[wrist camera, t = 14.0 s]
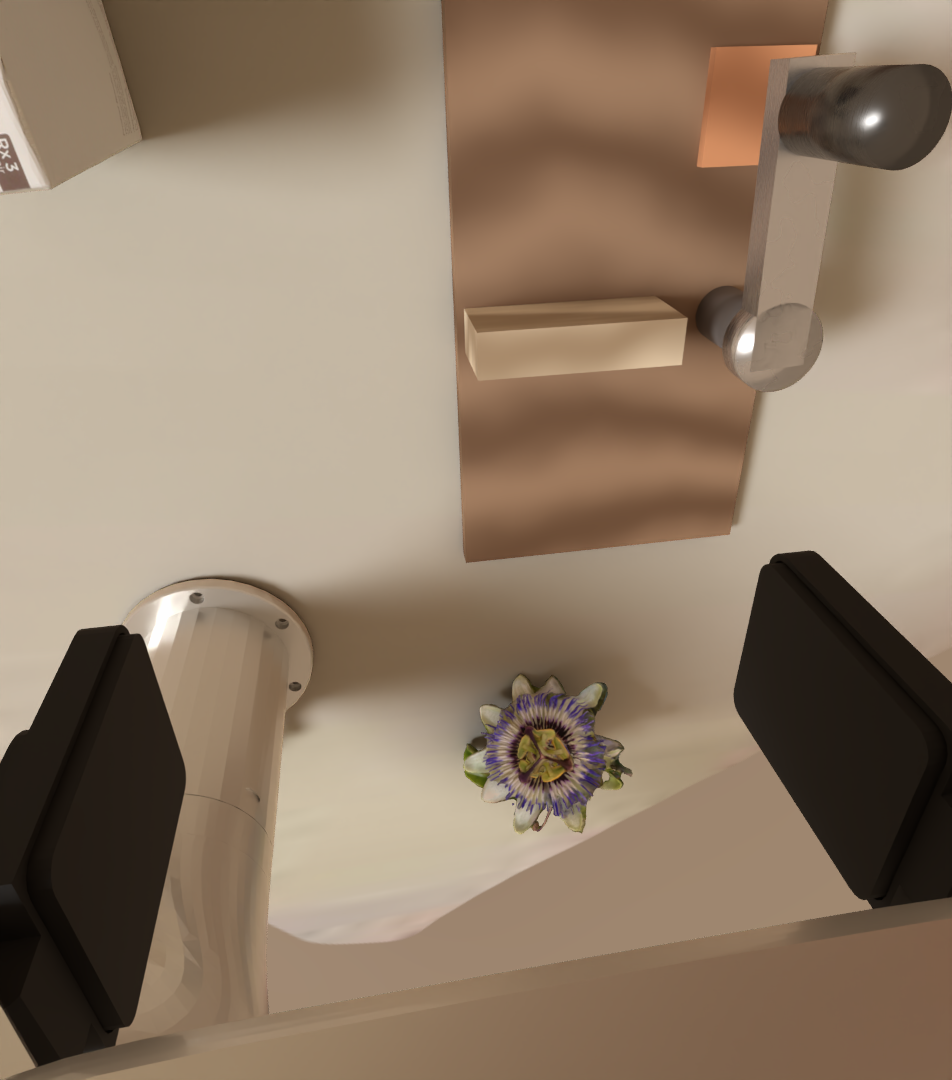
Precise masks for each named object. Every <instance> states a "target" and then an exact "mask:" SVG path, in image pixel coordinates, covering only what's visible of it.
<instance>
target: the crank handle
mask: <svg viewBox="0 0 952 1080" xmlns="http://www.w3.org/2000/svg"><path fill="white" fill-rule="evenodd" d="M855 56H856V53H838V54H825V55H815V56H804V57H793V58H782V59H771V60H770V69H769V78H768V86H767V95H766V103H765V112H764V120H763V129H762V138H761V146H760V155H759V163H758V172H757V180H756V189H755V198H754V206H753V215H752V223H751V232H750V240H749V249H748V258H747V266H746V275H745V283H744V292H743V301H742V309H741V310H740V311H739V312H738V313H737V314H736V315H735V316H734V318H733V319H732V320H731V322H730V324H729V325H728V327H727V330H726V332H725V335H724V338H723V344H722V353H723V359H724V362H725V364H726V366H727V368H728V369H729V371H730V372H731V373H732V374H734V375H735V376H736V377H737V378H739V379H740V380H741V381H743V382H744V383H745V384H747V385H748V386H750V387H751V388H753V389H755V390H758V391H763V392H774V391H779V390H782V389H785V388H787V387H789V386H791V385H793V384H794V383H796V382H797V381H799V380H800V379H801V378H802V377H803V376H805V374H806V373H807V372H808V371H809V370H810V369H811V367H812V366H813V365H814V363H815V361H816V360H817V357H818V355H819V353H820V350H821V346H822V341H823V330H822V325H821V322H820V320H819V318H818V316H817V315H816V313H815V312H814V311H813V306H814V300H815V294H816V288H817V282H818V276H819V270H820V264H821V258H822V252H823V246H824V240H825V234H826V228H827V222H828V216H829V211H830V205H831V199H832V193H833V187H834V181H835V175H836V169H837V163H838V162H842V163H849V164H855V165H861V166H867V167H873V168H880V169H886V170H901V169H905V168H908V167H910V166H912V165H914V164H916V163H918V162H919V161H921V160H922V159H923V158H924V157H926V156H927V155H928V154H929V153H930V152H931V151H932V150H933V148H934V147H935V146H936V145H937V143H938V142H939V140H940V139H941V137H942V135H943V134H944V132H945V130H946V127H947V125H948V122H949V119H950V115H951V110H952V91H951V86H950V83H949V81H948V79H947V77H946V76H945V75H944V73H943V72H942V71H941V70H939V69H938V68H936V67H934V66H931V65H926V64H915V65H882V66H854V62H855Z"/></svg>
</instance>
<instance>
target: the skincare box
mask: <svg viewBox="0 0 952 1080" xmlns="http://www.w3.org/2000/svg"><path fill="white" fill-rule="evenodd" d="M141 140H142V136H141V131H140V127H139V123H138V120H137V116H136V113H135V110H134V107H133V103H132V100H131V97H130V93H129V90H128V87H127V83H126V80H125V76H124V73H123V69H122V66H121V63H120V59H119V56H118V53H117V50H116V46H115V43H114V40H113V37H112V33H111V30H110V27H109V23H108V20H107V17H106V14H105V10H104V7H103V4H102V1H101V0H0V195H4V194H13V193H22V192H31V191H42V190H49V189H53V188H54V187H56V186H58V185H60V184H61V183H63V182H65V181H67V180H69V179H70V178H72V177H74V176H76V175H78V174H80V173H82V172H83V171H85V170H87V169H89V168H91V167H93V166H95V165H97V164H99V163H101V162H102V161H104V160H106V159H108V158H110V157H111V156H113V155H115V154H117V153H119V152H121V151H122V150H124V149H126V148H128V147H130V146H132V145H134V144H136V143H138V142H139V141H141Z"/></svg>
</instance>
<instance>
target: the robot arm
mask: <svg viewBox="0 0 952 1080" xmlns="http://www.w3.org/2000/svg"><path fill="white" fill-rule="evenodd" d="M312 668H313V648H312V643H311V638H310V636H309V633H308V631H307V629H306V627H305V625H304V623H303V622H302V621H301V619H300V618H299V617H298V615H297V614H296V613H295V612H294V611H293V610H292V609H291V608H290V607H289V606H287V605H286V604H285V603H284V602H283V601H281V600H280V599H278V598H276V597H275V596H273V595H272V594H270V593H268V592H266V591H264V590H261V589H259V588H256V587H254V586H251V585H248V584H244V583H240V582H235V581H231V580H219V579H202V580H190V581H186V582H181V583H177V584H173V585H170V586H168V587H165V588H163V589H160V590H158V591H156V592H154V593H152V594H151V595H149V596H148V597H146V598H145V599H143V600H142V601H140V602H139V603H138V604H137V605H136V606H135V607H134V608H133V609H132V610H131V611H130V612H129V614H128V615H127V617H126V619H125V620H124V622H123V624H122V625H116V626H106V627H97V628H88V629H81V630H79V631H78V632H77V633H76V635H75V636H74V638H73V640H72V642H71V644H70V646H69V648H68V651H67V653H66V655H65V657H64V659H63V661H62V663H61V665H60V667H59V669H58V671H57V673H56V675H55V677H54V680H53V682H52V684H51V686H50V688H49V690H48V692H47V694H46V696H45V698H44V700H43V702H42V704H41V706H40V709H39V711H38V713H37V715H36V717H35V719H34V721H33V723H32V725H31V727H30V729H29V730H25V731H22V732H20V733H19V734H17V735H16V736H15V737H14V739H13V740H12V742H11V743H10V745H9V747H8V749H7V751H6V753H5V755H4V757H3V759H2V761H1V763H0V1080H952V683H951V682H950V681H949V680H948V679H947V678H946V677H945V676H944V675H943V674H942V673H941V672H940V671H939V670H938V669H936V668H935V667H934V666H933V665H932V664H931V663H930V662H929V661H928V660H927V659H926V658H925V657H924V656H923V655H922V654H921V653H920V652H919V651H918V650H917V649H916V648H915V647H914V646H913V645H912V644H911V643H910V642H909V641H908V640H907V639H906V638H905V637H904V636H902V635H901V634H900V633H899V632H898V631H897V630H896V629H895V628H894V627H893V626H892V625H891V624H890V623H889V622H888V621H887V620H886V619H885V618H884V617H883V616H882V615H881V614H880V613H879V612H878V611H877V610H876V609H875V608H874V607H873V606H872V605H871V604H869V603H868V602H867V601H866V600H865V599H864V598H863V597H862V596H861V595H860V594H859V593H858V592H857V591H856V590H855V589H854V588H853V587H852V586H851V585H850V584H849V583H848V582H847V581H846V580H845V579H844V578H843V577H842V576H841V575H840V574H839V573H838V572H836V571H835V570H834V569H833V568H832V567H831V566H830V565H829V564H828V563H827V562H826V561H825V560H824V559H823V558H822V557H821V556H820V555H819V554H817V553H816V552H814V551H801V552H792V553H783V554H777V555H775V556H773V557H772V559H771V560H770V563H769V564H766V565H764V566H763V567H762V568H761V571H760V574H759V579H758V583H757V588H756V592H755V597H754V601H753V606H752V610H751V615H750V620H749V624H748V629H747V633H746V638H745V642H744V647H743V651H742V656H741V660H740V665H739V670H738V674H737V679H736V683H735V688H734V703H735V707H736V710H737V712H738V714H739V716H740V717H741V719H742V720H743V722H744V723H745V725H746V727H747V728H748V730H749V731H750V733H751V734H752V736H753V738H754V739H755V741H756V742H757V744H758V745H759V747H760V748H761V750H762V752H763V753H764V755H765V756H766V758H767V759H768V761H769V762H770V764H771V766H772V767H773V769H774V770H775V772H776V773H777V775H778V777H779V778H780V780H781V781H782V783H783V784H784V786H785V787H786V789H787V791H788V792H789V794H790V795H791V797H792V798H793V800H794V802H795V803H796V805H797V806H798V808H799V809H800V811H801V813H802V814H803V816H804V817H805V819H806V820H807V822H808V823H809V825H810V827H811V828H812V830H813V831H814V833H815V834H816V836H817V838H818V839H819V841H820V842H821V844H822V845H823V847H824V849H825V850H826V852H827V853H828V855H829V856H830V858H831V859H832V861H833V862H834V864H835V865H836V867H837V869H838V870H839V872H840V874H841V875H842V877H843V878H844V880H845V881H846V883H847V884H848V886H849V888H850V889H851V890H852V892H853V893H854V894H855V895H856V896H857V897H858V898H860V899H863V900H868V902H869V904H870V905H871V906H872V908H873V909H870V910H864V911H859V912H852V913H846V914H840V915H834V916H829V917H823V918H817V919H810V920H805V921H799V922H793V923H787V924H782V925H775V926H769V927H763V928H757V929H751V930H745V931H739V932H733V933H727V934H722V935H715V936H710V937H704V938H698V939H692V940H687V941H680V942H675V943H669V944H664V945H657V946H652V947H646V948H640V949H634V950H629V951H623V952H617V953H611V954H605V955H600V956H594V957H588V958H583V959H577V960H571V961H565V962H560V963H554V964H548V965H542V966H537V967H531V968H525V969H520V970H514V971H508V972H502V973H497V974H491V975H485V976H479V977H474V978H469V979H463V980H458V981H451V982H446V983H440V984H435V985H429V986H424V987H418V988H412V989H407V990H401V991H396V992H390V993H385V994H379V995H374V996H368V997H363V998H357V999H351V1000H346V1001H341V1002H335V1003H329V1004H323V1005H318V1006H312V1007H307V1008H301V1009H296V1010H290V1011H285V1012H279V1013H273V1014H269V1005H268V990H267V962H266V955H267V954H266V953H267V921H268V905H269V891H270V879H271V867H272V857H273V846H274V835H275V824H276V812H277V801H278V790H279V778H280V767H281V756H282V744H283V733H284V722H285V712H286V711H287V710H288V709H289V708H290V707H292V706H293V705H294V704H295V703H296V702H297V701H298V699H299V698H300V697H301V695H302V694H303V693H304V692H305V689H306V687H307V685H308V683H309V681H310V678H311V673H312Z"/></svg>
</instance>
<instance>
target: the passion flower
mask: <svg viewBox="0 0 952 1080" xmlns="http://www.w3.org/2000/svg"><path fill="white" fill-rule="evenodd" d="M607 694H608V693H607V686H606V684H605V683H598V682H597V683H594V684H591V685H590V686H588V687H586V689H584V690H583V691H581V692H580V694H579V695H578V696H567V695H566V693H565V691H564V689H563V687H562V685H561V683H560V682H559V680H558V679H557V678H556V677H555V676H553V675H551V677H550V678H549V679H548V680H547V681H546V683H545V685H544V686H542V687H541V688H538V687H535V686H533V685H532V684H531V682H530V681H529V679H528V678H526V677H525V676H524V675H522V674H520V675H518V677H517V678H516V679H515V680H514V682H513V685H512V699H513V701H512V703H510V706H508V707H507V708H506V709H502V708H499V707H498V706H496V705H493V704H489V705H488V704H485V705H482V706H481V707H480V717H481V721H482V723H483V725H484V726H485V728H486V730H487V733H482V732H481V734H486V735H487V736H486V737H484V738H486V739H487V746H486V747H485V748H484V749H483V750H479V751H478V750H477V749H476V748H474V747H473V746H472V745H471V744H467V748H466V750H465V752H464V766H463V768H464V769H465V775H466V777H467V778H468V779H470V780H471V781H472V782H473V783H475V784H476V785H477V786H479V787H481V788H483V790H482V793H481V799H482V800H483V801H484V802H487V803H498V802H501V801H506V800H509V799H515V800H516V801H517V804H516V809H515V813H514V815H515V818H514V823H513V826H514V831H515V832H516V833H518V834H522V833H524V832H525V831H526V830H527V829H529V828H530V827H531V828H532V829H533V831H537V832H538V831H540V830H541V829H542V828H543V826H544V825H545V824H546V822H547V819H548V817H549V815H550V813H551V811H552V808H553V809H554V815H555V816H559V817H560V819H562V820H563V821H564V822H565V824H566V825H567V826H568V828H569V829H571V830H573V831H575V832H580V833H582V832H583V828H584V826H585V820H586V805H587V801H589V800H590V798H591V796H593V792H594V790H595V789H596V788H601V789H605V790H618V789H620V788H622V786H623V784H624V783H623V782H622V780H621V779H620V777H621V774H622V773H623V772H624V774H626V775H629V776H630V777H631V776H632V772H631V770H630V769H628V768H626V767H624V766H623V765H622V764H620V762H619V759H618V758H619V755H620V753H621V752H622V751H623V750H624V747H623V746H622V744H621V743H620V742H618V741H616V740H612V739H609V738H605V737H603V736H600V735H595V730H594V724H595V716H596V713H597V711H599V710H601V707H602V705H603V704H604V702H605V699H606V697H607ZM613 769H615V771H614V770H613ZM603 771H606V772H608V773H609V776H610V777H609V780H608V781H605V782H603V780H602V773H603ZM512 805H514V803H512ZM546 805H547V811H549V812H548V813H547V816H546V819H545V821H544V823H543V825H542V826H539V823H538V821H537V819H538V817H539V815H540V813H541V812H542V811H543V810H544V809H545V808H546ZM549 808H550V810H549Z"/></svg>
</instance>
